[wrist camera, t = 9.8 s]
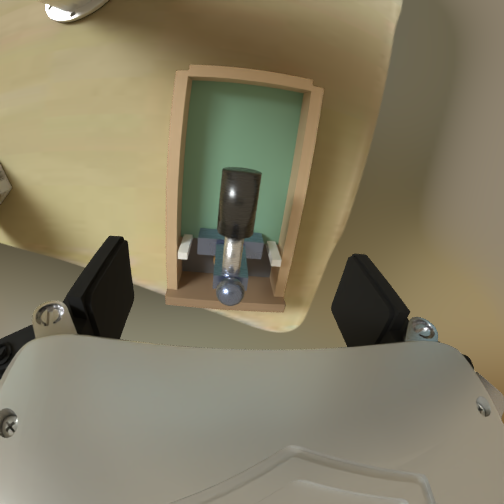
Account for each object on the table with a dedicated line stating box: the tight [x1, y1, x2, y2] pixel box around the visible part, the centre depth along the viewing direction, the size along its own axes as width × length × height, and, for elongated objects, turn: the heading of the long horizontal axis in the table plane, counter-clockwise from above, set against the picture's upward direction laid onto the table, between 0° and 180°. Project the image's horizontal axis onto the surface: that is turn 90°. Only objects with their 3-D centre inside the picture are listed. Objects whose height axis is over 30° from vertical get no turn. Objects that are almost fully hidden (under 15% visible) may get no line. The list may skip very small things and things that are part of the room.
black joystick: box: [197, 167, 264, 306], centre depth 25 cm, size 12×7×12 cm, turn 173°
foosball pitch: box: [165, 65, 324, 312], centre depth 28 cm, size 26×14×6 cm, turn 173°
